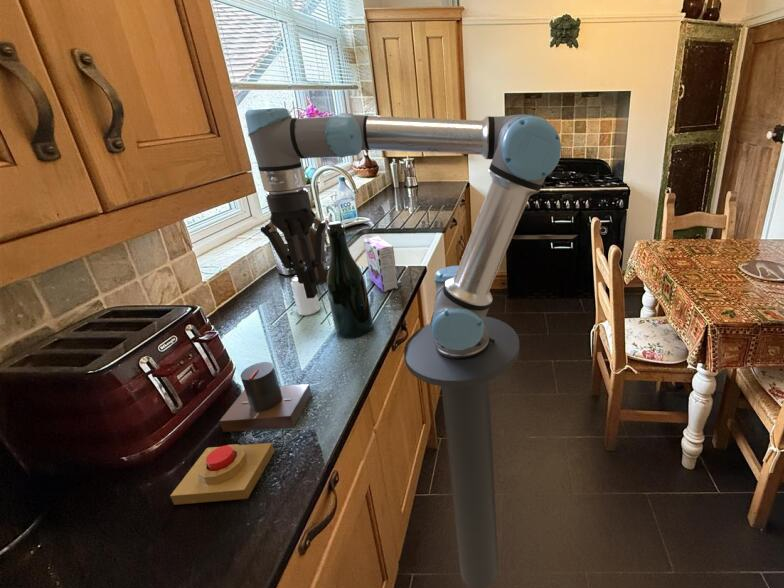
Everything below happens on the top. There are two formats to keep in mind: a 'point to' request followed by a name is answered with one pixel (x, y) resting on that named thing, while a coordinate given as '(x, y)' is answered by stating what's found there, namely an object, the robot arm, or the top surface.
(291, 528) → the top surface
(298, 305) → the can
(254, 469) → the switch block
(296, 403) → the panel
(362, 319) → the dark green wine bottle
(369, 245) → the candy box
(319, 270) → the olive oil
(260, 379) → the dimmer knob
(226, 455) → the light button
